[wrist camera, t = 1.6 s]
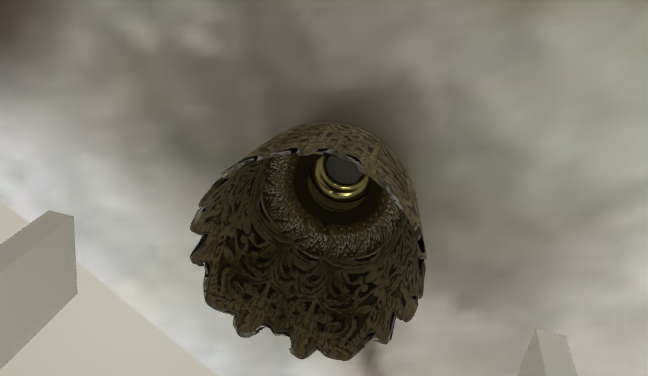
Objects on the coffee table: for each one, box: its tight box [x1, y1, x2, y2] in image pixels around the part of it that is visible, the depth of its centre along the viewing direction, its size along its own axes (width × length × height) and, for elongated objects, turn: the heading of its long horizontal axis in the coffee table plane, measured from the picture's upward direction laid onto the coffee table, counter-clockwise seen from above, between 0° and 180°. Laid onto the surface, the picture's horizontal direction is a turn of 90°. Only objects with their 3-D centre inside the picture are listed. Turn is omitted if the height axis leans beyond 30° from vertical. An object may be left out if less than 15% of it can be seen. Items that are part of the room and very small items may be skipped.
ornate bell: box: [190, 121, 427, 361], centre depth 21 cm, size 8×7×8 cm
